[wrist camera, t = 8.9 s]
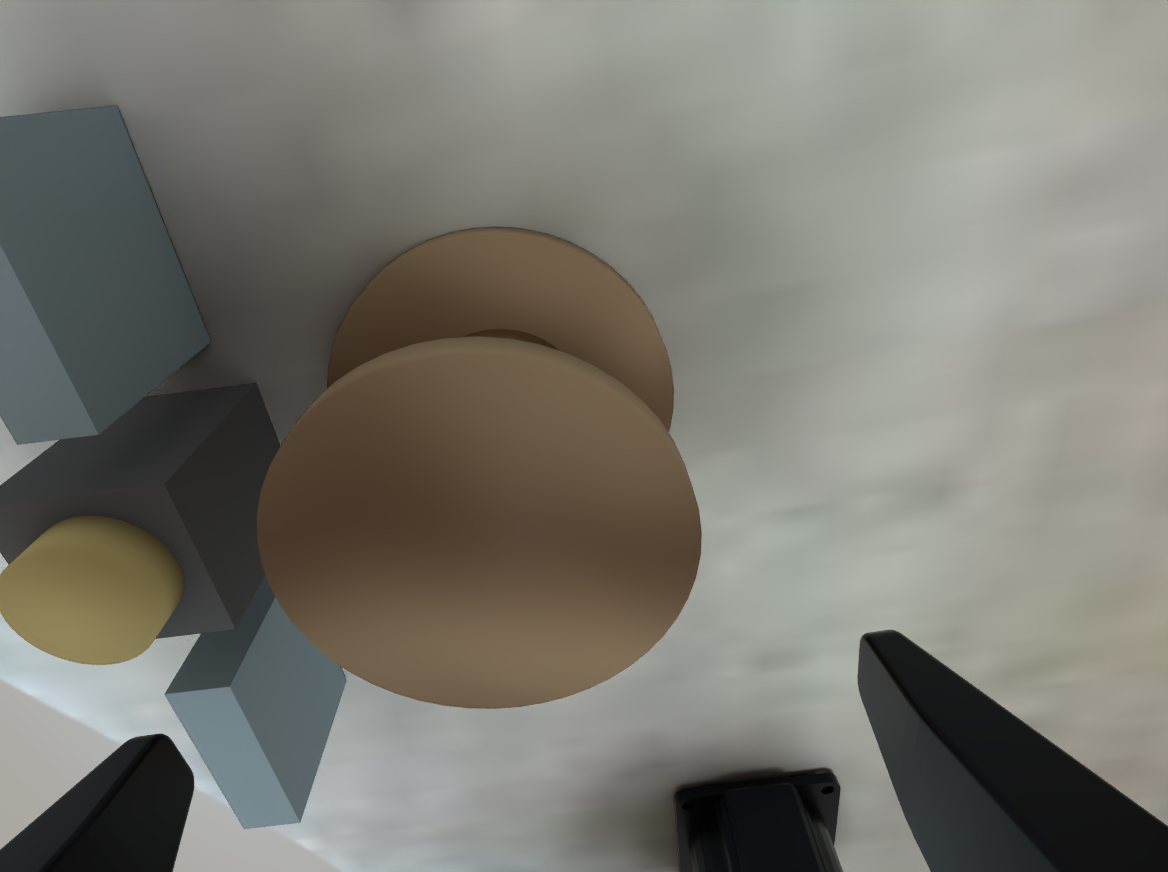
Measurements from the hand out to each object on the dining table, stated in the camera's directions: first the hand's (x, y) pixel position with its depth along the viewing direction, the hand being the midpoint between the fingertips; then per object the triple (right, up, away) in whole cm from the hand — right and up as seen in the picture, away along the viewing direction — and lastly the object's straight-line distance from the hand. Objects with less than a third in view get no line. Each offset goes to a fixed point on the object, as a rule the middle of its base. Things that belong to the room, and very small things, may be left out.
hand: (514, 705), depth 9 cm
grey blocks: (-9, +3, +10) cm, 14 cm away
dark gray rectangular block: (-10, +3, +10) cm, 15 cm away
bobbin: (-1, +5, +10) cm, 11 cm away
